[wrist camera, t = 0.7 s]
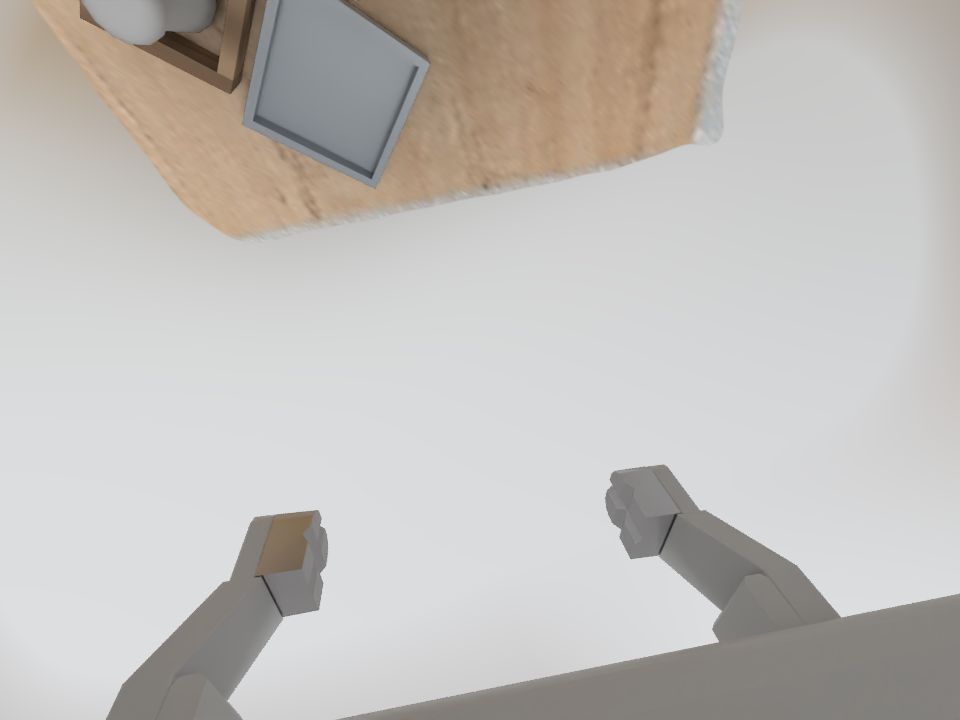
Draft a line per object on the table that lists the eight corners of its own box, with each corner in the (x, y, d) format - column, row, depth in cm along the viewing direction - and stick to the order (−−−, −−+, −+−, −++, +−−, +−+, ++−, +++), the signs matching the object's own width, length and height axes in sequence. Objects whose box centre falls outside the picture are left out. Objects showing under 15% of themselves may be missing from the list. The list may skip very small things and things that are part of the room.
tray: (280, -45, 33) (275, -44, 32) (427, 57, 40) (430, 63, 38) (247, 116, 41) (241, 124, 39) (375, 179, 48) (375, 189, 46)
